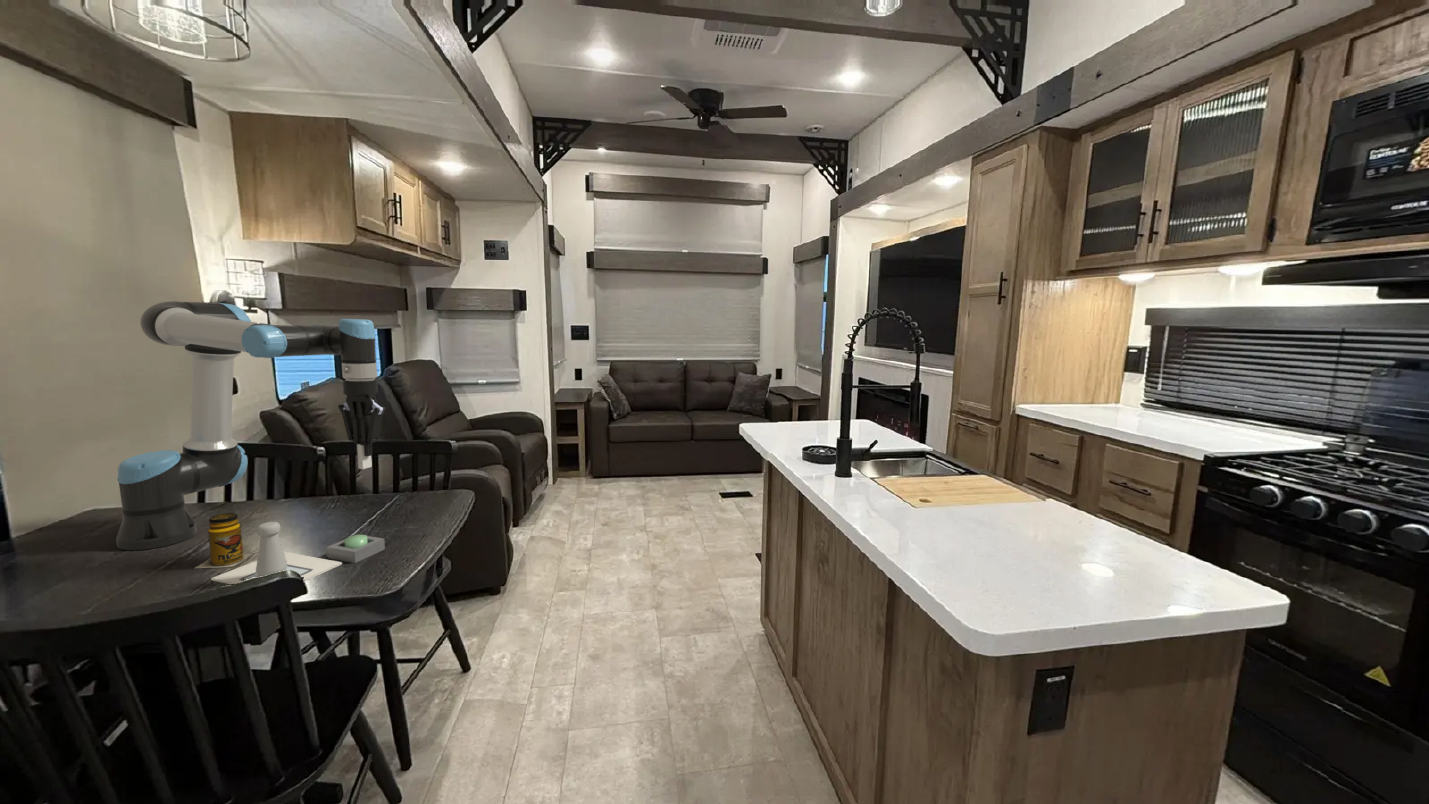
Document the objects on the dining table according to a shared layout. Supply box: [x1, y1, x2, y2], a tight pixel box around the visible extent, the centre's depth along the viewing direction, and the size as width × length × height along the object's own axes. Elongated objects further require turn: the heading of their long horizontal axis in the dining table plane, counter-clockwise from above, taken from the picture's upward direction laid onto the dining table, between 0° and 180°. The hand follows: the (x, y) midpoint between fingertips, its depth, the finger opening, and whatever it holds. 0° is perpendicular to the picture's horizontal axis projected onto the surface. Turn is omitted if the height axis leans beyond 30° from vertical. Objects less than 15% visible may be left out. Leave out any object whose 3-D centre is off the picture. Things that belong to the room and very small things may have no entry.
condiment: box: [194, 512, 252, 569], centre depth 135 cm, size 7×8×12 cm
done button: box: [343, 534, 368, 549], centre depth 143 cm, size 5×5×4 cm
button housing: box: [326, 534, 386, 564], centre depth 143 cm, size 9×9×3 cm
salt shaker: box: [256, 521, 287, 577], centre depth 127 cm, size 6×6×13 cm
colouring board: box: [210, 551, 343, 585], centre depth 131 cm, size 20×16×1 cm
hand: (365, 467), depth 144 cm, fingers closed
